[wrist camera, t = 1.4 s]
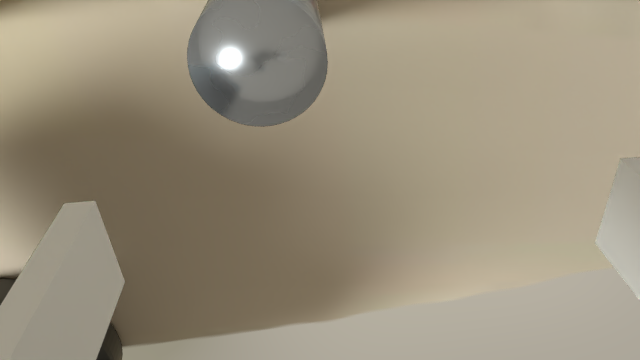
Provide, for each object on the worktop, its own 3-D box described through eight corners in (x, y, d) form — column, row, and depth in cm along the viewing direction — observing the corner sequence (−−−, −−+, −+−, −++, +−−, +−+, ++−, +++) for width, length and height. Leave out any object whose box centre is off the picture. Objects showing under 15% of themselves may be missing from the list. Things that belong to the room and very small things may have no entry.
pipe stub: (228, 33, 30) (198, 128, 20) (218, -61, 27) (176, -7, 17) (314, 30, 30) (328, 123, 20) (312, -64, 27) (326, -11, 17)
